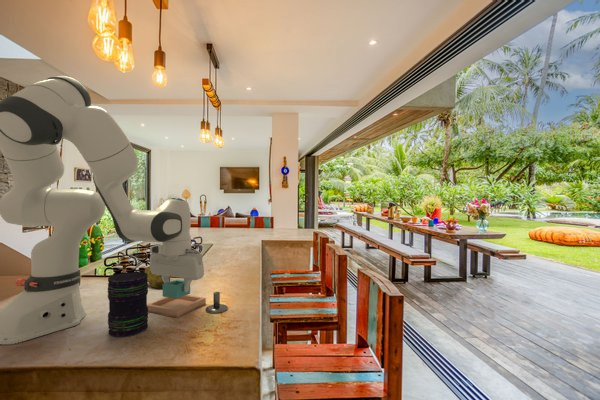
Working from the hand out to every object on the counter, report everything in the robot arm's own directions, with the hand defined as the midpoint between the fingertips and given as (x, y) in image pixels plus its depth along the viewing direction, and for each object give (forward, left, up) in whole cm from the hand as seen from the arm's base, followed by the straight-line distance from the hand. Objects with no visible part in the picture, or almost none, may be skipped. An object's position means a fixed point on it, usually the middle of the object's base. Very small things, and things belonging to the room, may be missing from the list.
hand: (176, 290), depth 104 cm
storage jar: (-18, 0, -6) cm, 19 cm away
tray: (0, 0, -6) cm, 6 cm away
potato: (+15, +25, -6) cm, 30 cm away
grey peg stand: (+4, -13, -6) cm, 15 cm away
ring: (0, 0, -2) cm, 2 cm away
